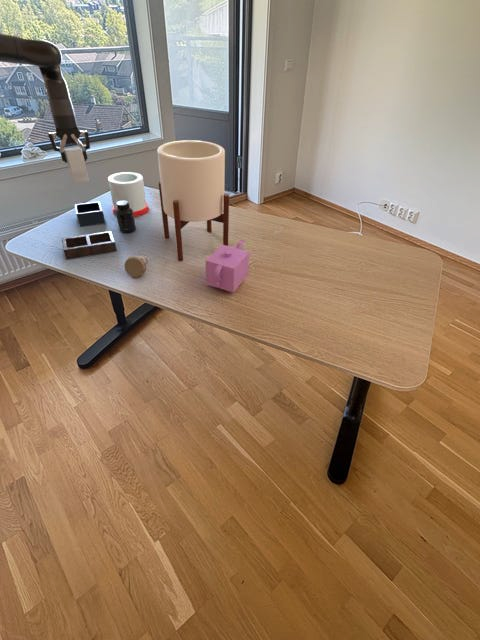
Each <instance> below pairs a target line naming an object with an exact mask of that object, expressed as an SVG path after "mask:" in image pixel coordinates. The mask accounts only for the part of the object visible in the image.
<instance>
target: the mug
mask: <svg viewBox="0 0 480 640" xmlns="http://www.w3.org/2000/svg"><path fill="white" fill-rule="evenodd" d="M148 264H149V259H148V257H147V256H145V255H132V256H130V257H128V258H127V259H126V260H125V262H124V264H123V265H124V266H123V267H124V270H125V272H126V274H127V275H129V276H130V277H133V278H138V277H141V276H143V275H144V274H145V272H146V270H147V265H148Z"/></svg>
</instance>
